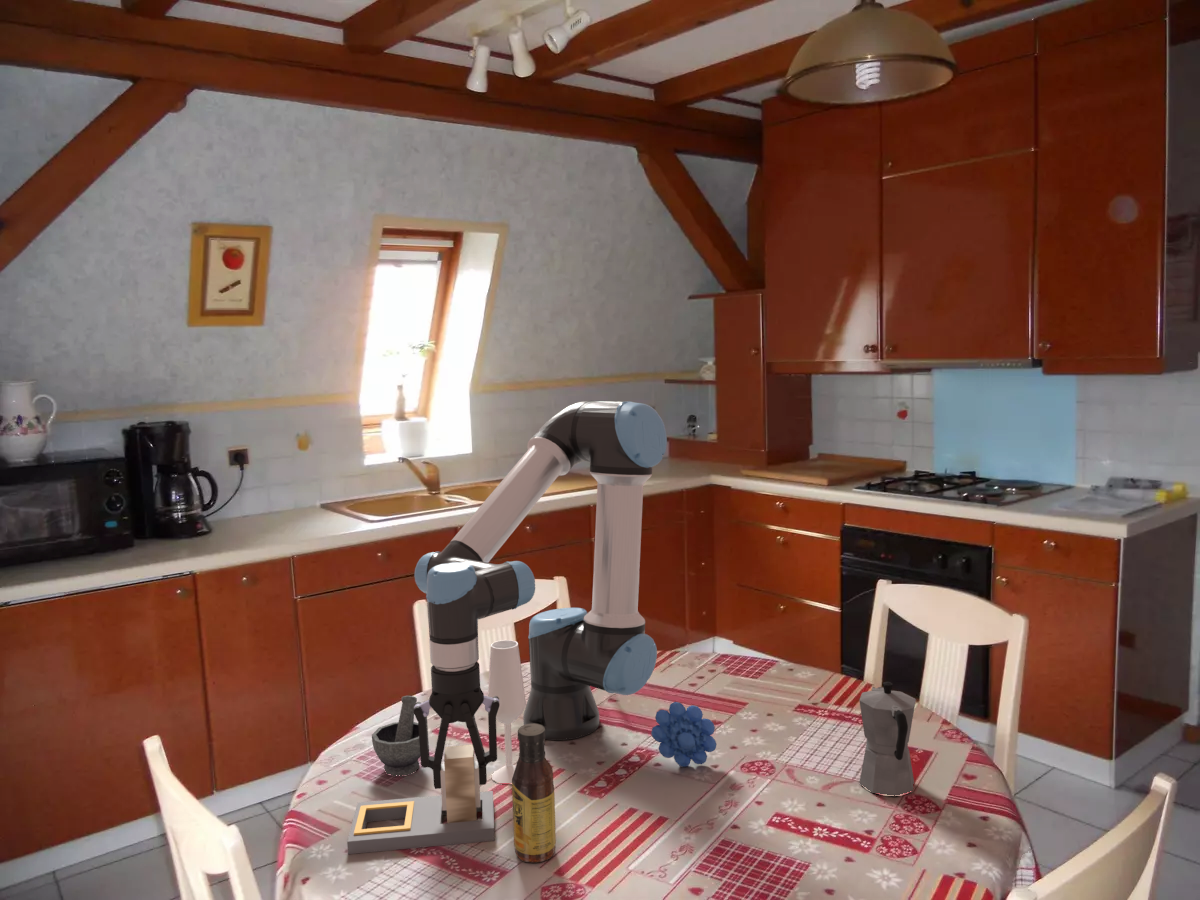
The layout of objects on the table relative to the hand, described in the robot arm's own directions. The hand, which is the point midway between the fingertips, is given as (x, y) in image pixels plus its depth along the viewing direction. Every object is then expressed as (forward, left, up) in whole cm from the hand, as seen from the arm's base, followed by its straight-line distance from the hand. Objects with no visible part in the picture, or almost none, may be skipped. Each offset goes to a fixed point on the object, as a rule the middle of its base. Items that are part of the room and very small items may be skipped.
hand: (461, 804), depth 147 cm
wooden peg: (0, 0, -3) cm, 3 cm away
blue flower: (-39, -12, -3) cm, 41 cm away
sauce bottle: (-11, +11, -3) cm, 16 cm away
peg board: (+6, 0, -3) cm, 7 cm away
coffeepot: (-71, +1, -3) cm, 71 cm away
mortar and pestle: (+11, -22, -3) cm, 25 cm away
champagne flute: (-8, -15, -3) cm, 17 cm away
